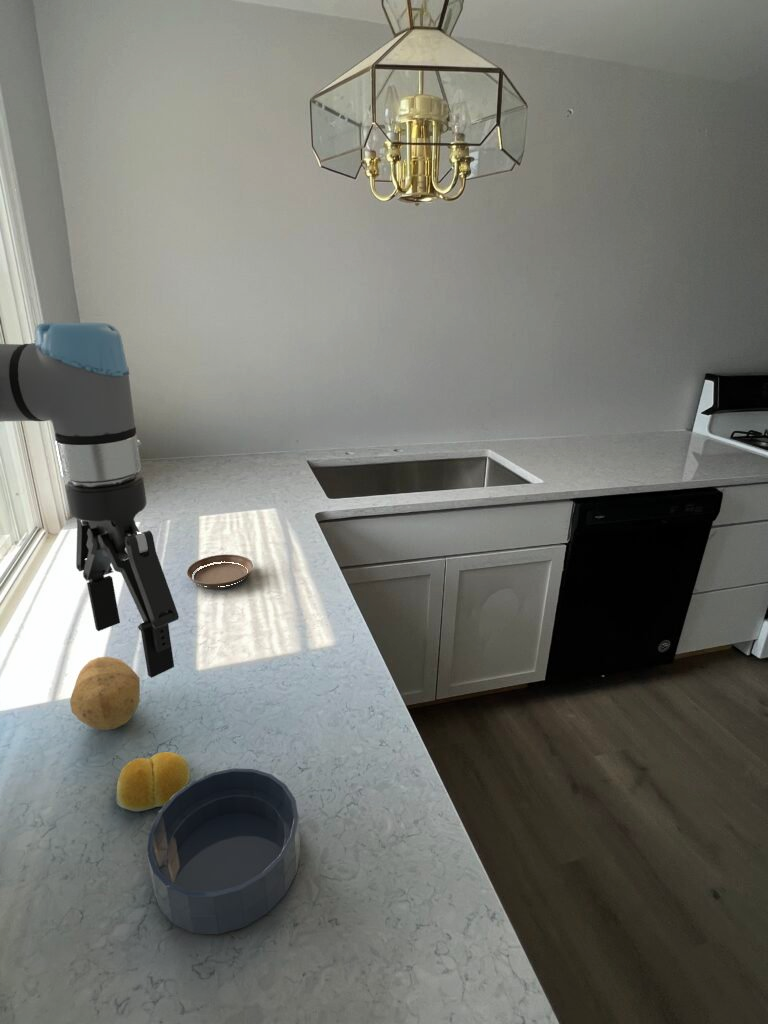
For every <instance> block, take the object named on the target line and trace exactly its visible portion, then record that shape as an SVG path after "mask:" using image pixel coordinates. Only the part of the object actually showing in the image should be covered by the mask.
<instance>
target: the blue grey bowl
mask: <svg viewBox="0 0 768 1024" xmlns="http://www.w3.org/2000/svg"><path fill="white" fill-rule="evenodd" d="M300 838H301V837H300V819H299V812H298V807H297V800H296V798H295V796H294V795H293V794H292V792H291V790H290V789H289V787H288V785H287V784H286V783H284V782H283V781H282V780H280V779H279V778H278V777H276V776H274V775H273V774H271V773H268V772H265V771H262V770H258V769H256V768H235V767H234V768H229V769H223V770H219V771H213V772H211V773H209V774H206V775H204V776H202V777H199V778H198V779H195V780H193V781H191V782H190V783H188V784H187V786H186V787H184V788H183V789H181V790H180V791H179V792H177V793H176V794H175V795H174V796H172V798H171V799H170V800H169V801H168V802H167V803H166V805H165V806H162V808H161V809H160V810H159V811H158V813H157V815H156V817H155V819H154V821H153V823H152V824H151V827H150V830H149V833H148V838H147V848H146V856H147V861H148V867H149V874H150V879H151V884H152V889H153V893H154V896H155V899H156V903H157V907H158V909H159V911H161V912H162V913H163V915H164V916H165V917H166V918H167V919H168V920H169V921H170V922H171V923H172V924H173V925H174V926H176V927H179V928H181V929H183V930H185V931H188V932H190V933H192V934H203V935H205V934H206V935H219V934H220V935H221V934H224V933H228V932H231V931H235V930H238V929H242V928H245V927H247V926H249V925H250V924H252V923H253V922H255V921H257V920H259V919H260V918H261V917H262V918H263V917H264V916H265V915H267V914H269V912H270V911H271V910H272V909H273V908H274V907H275V906H276V905H277V904H278V903H279V902H280V901H281V899H282V898H283V897H284V896H285V895H286V894H287V892H288V890H289V888H290V886H291V884H292V882H293V880H294V879H295V877H296V875H297V872H298V868H299V867H298V866H299V861H300V856H301V841H300V840H301V839H300Z"/></svg>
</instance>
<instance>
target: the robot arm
mask: <svg viewBox="0 0 768 1024" xmlns="http://www.w3.org/2000/svg"><path fill="white" fill-rule="evenodd" d="M47 421H48V422H51V425H52V429H53V432H54V438H55V440H54V442H55V446H56V452H57V457H58V462H59V467H60V472H61V477H62V478H63V479H65V480H67V481H66V483H65V485H64V489H65V493H66V499H67V504H68V509H69V513H70V515H71V516H72V517H73V518H74V519H76V556H75V557H76V559H75V565H76V566H75V567H76V570H77V571H78V572H83V573H82V576H83V579H84V580H85V581H86V585H87V591H88V596H89V600H90V607H91V612H92V617H93V621H94V627H95V630H96V631H97V632H100V631H103V630H106V629H108V628H111V627H113V626H116V625H119V624H121V621H120V614H119V609H118V604H117V597H116V591H115V586H114V580H113V577H112V576H111V575H109V574H113V573H114V572H117V573H120V574H121V576H122V578H123V580H124V583H125V585H126V587H127V589H128V591H129V593H130V595H131V599H132V600H133V602H134V604H135V606H136V608H137V610H138V613H139V615H140V617H141V619H142V622H141V623H139V625H138V626H137V629H138V630H139V631H140V635H141V639H142V647H143V652H144V659H145V665H146V671H147V675H148V677H149V678H151V679H152V678H154V677H156V676H159V675H160V674H163V673H165V672H167V671H169V670H171V669H173V668H175V663H174V655H173V649H172V648H173V647H172V642H171V634H170V633H171V632H170V627H169V624H171V623H174V622H176V621H178V620H179V619H180V616H179V613H178V610H177V607H176V604H175V601H174V599H173V595H172V593H171V590H170V587H169V585H168V582H167V579H166V576H165V573H164V570H163V568H162V565H161V562H160V558H159V556H158V554H157V549H156V544H155V539H154V534H153V533H152V531H151V530H145V531H142V532H140V530H139V527H138V526H137V524H136V521H135V517H136V516H137V515H138V514H139V513H140V512H142V511H143V510H144V509H145V508H146V507H147V495H146V489H145V482H144V477H143V475H142V474H141V473H139V472H140V471H141V469H142V464H141V457H140V451H139V450H140V448H141V447H142V441H141V440H139V439H138V436H137V427H136V423H135V414H134V406H133V398H132V390H131V383H130V368H129V366H128V364H127V359H126V354H125V349H124V344H123V340H122V335H121V333H120V331H119V330H118V329H117V327H115V326H113V325H112V324H109V323H105V322H44V323H43V322H42V323H39V324H37V325H36V327H35V328H34V342H30V343H23V344H21V343H20V344H18V343H17V344H16V343H0V423H1V422H2V423H3V422H47ZM106 575H107V576H106Z"/></svg>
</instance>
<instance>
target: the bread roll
mask: <svg viewBox="0 0 768 1024" xmlns="http://www.w3.org/2000/svg"><path fill="white" fill-rule="evenodd" d="M190 779H191V770H190V765H189V763H188V762H187V760H186V759H185V758H184V756H182V755H181V754H178V753H175V752H170V751H161V752H159V753H156V754H154V755H152V756H150V757H138V758H135V759H132V760H130V761H129V762H128V763H126V764H125V766H124V767H123V768H122V769H121V771H120V773H119V776H118V778H117V782H116V783H117V784H116V792H115V793H116V795H115V799H116V804H117V806H118V807H120V808H122V809H124V810H128V811H132V812H136V813H137V812H144V811H148V810H151V809H154V808H158V807H160V808H161V807H164V806H165V805H166V803H167V802H168V801H169V800H170V799H171V798H172V796H174V795H175V794H176V793H177V792H179V791H180V790H181V789H183V788H184V787H186V786H187V785H188V784H189V781H190Z"/></svg>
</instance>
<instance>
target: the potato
mask: <svg viewBox="0 0 768 1024" xmlns="http://www.w3.org/2000/svg"><path fill="white" fill-rule="evenodd" d="M140 681H141V680H140V677H139V676H138V674H137V673H136V672H135V670H133V669H132V667H131V666H129V665H128V664H127V663H126V662H125V661H123V660H122V659H121V658H116V657H112V656H101V657H96V658H93V659H90V660H89V661H88V662H87V663H86V664H85V665H84V666H83V667H82V668H81V670H80V671H79V673H78V675H77V678H76V680H75V683H74V687H73V690H72V693H71V696H70V699H69V703H70V710H71V713H72V714H73V715H74V716H75V718H77V719H78V721H80V722H81V723H83V724H85V725H86V726H88V727H89V728H93V729H97V730H100V731H107V730H108V731H109V730H116V729H118V728H119V727H121V726H124V725H125V724H127V723H128V722H129V721H130V720H131V718H132V716H133V715H134V714H135V712H136V710H137V709H138V707H139V703H140V699H141V698H140V697H141V690H140V689H141V686H140Z"/></svg>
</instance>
